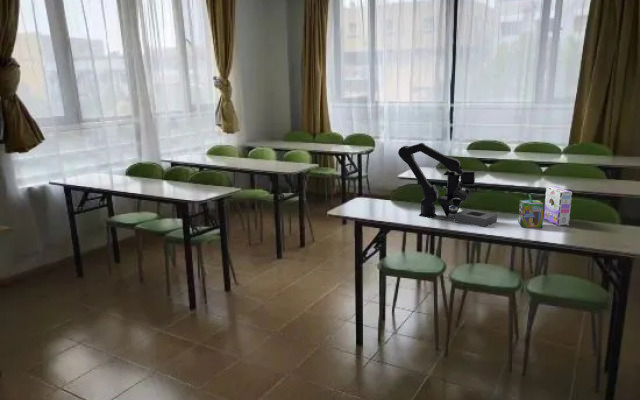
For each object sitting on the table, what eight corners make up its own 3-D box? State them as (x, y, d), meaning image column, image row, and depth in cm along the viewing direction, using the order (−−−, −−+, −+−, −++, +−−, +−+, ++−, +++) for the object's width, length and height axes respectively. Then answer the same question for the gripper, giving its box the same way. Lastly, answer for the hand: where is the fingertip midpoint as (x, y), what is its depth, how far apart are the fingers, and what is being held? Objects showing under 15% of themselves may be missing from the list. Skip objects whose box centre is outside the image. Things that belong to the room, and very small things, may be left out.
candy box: (569, 225, 232) (573, 191, 228) (557, 226, 231) (560, 192, 228) (554, 218, 245) (557, 185, 241) (542, 218, 245) (545, 186, 241)
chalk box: (542, 228, 228) (545, 197, 225) (521, 227, 230) (524, 196, 226) (537, 223, 237) (540, 193, 234) (517, 222, 238) (519, 192, 235)
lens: (443, 217, 249) (444, 206, 248) (449, 215, 253) (450, 204, 252) (453, 219, 246) (454, 207, 244) (459, 217, 250) (459, 205, 248)
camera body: (454, 221, 242) (454, 213, 241) (466, 216, 250) (466, 209, 249) (485, 227, 231) (485, 219, 230) (496, 222, 239) (497, 214, 238)
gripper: (458, 189, 234) (456, 220, 237) (477, 183, 247) (475, 213, 250) (437, 186, 241) (436, 216, 245) (456, 180, 254) (455, 210, 258)
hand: (451, 214), depth 249 cm, fingers open, 9 cm apart
